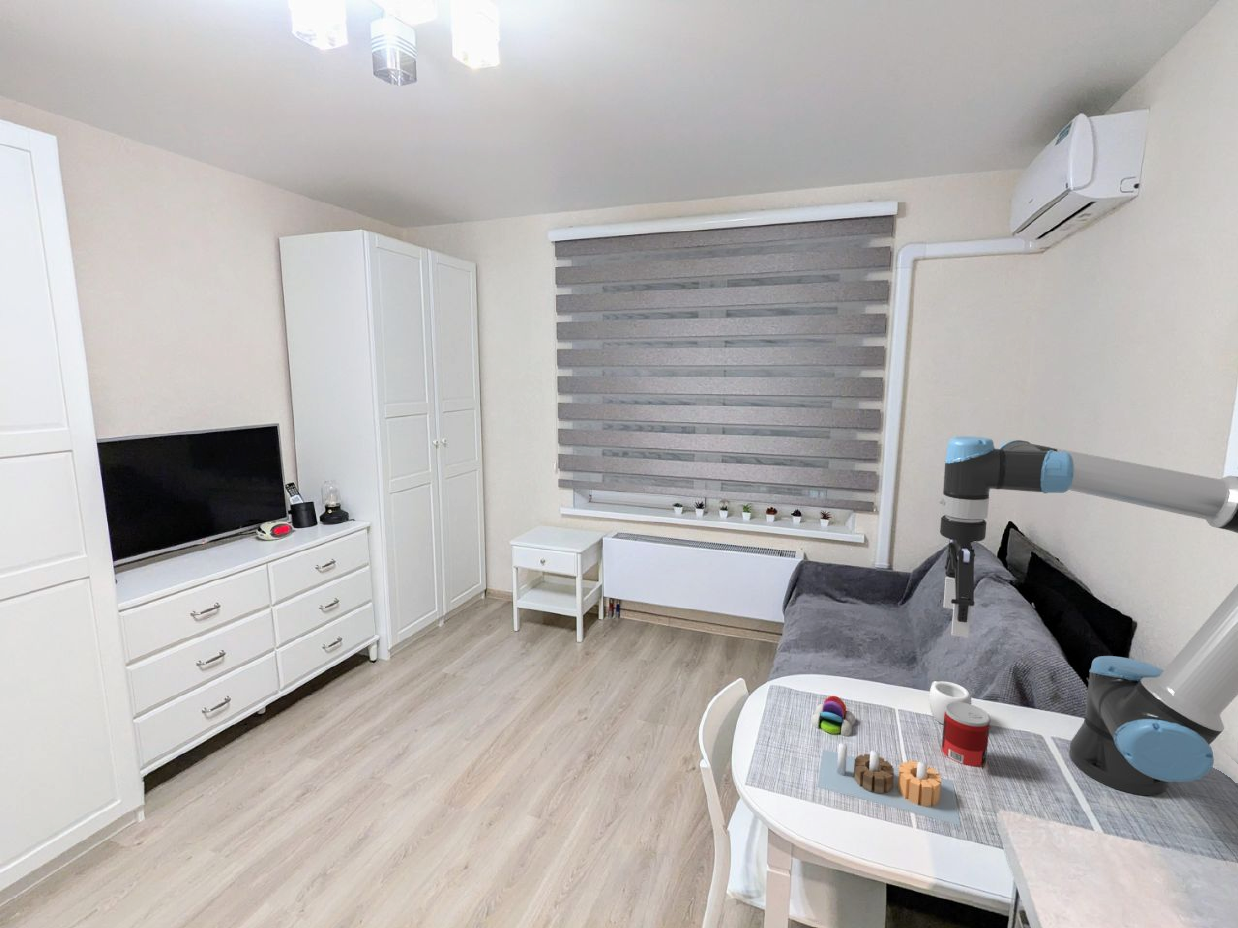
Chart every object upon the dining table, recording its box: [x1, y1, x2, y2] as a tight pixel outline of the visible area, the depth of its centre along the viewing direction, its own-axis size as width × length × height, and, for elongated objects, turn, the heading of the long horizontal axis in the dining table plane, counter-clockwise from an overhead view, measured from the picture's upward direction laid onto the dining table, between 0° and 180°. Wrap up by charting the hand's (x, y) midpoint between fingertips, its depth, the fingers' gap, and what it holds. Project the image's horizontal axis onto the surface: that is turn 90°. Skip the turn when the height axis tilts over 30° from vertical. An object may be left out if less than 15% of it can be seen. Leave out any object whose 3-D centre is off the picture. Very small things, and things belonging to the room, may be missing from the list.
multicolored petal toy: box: [810, 695, 856, 737], centre depth 130 cm, size 8×10×7 cm
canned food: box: [941, 702, 991, 770], centre depth 119 cm, size 8×8×11 cm
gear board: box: [817, 742, 962, 826], centre depth 111 cm, size 24×12×8 cm, turn 66°
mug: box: [928, 680, 972, 725], centre depth 134 cm, size 12×8×8 cm
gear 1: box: [854, 753, 894, 793], centre depth 112 cm, size 7×7×3 cm
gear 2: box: [898, 760, 942, 807], centre depth 108 cm, size 7×7×4 cm
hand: (955, 621), depth 113 cm, fingers open, 13 cm apart
